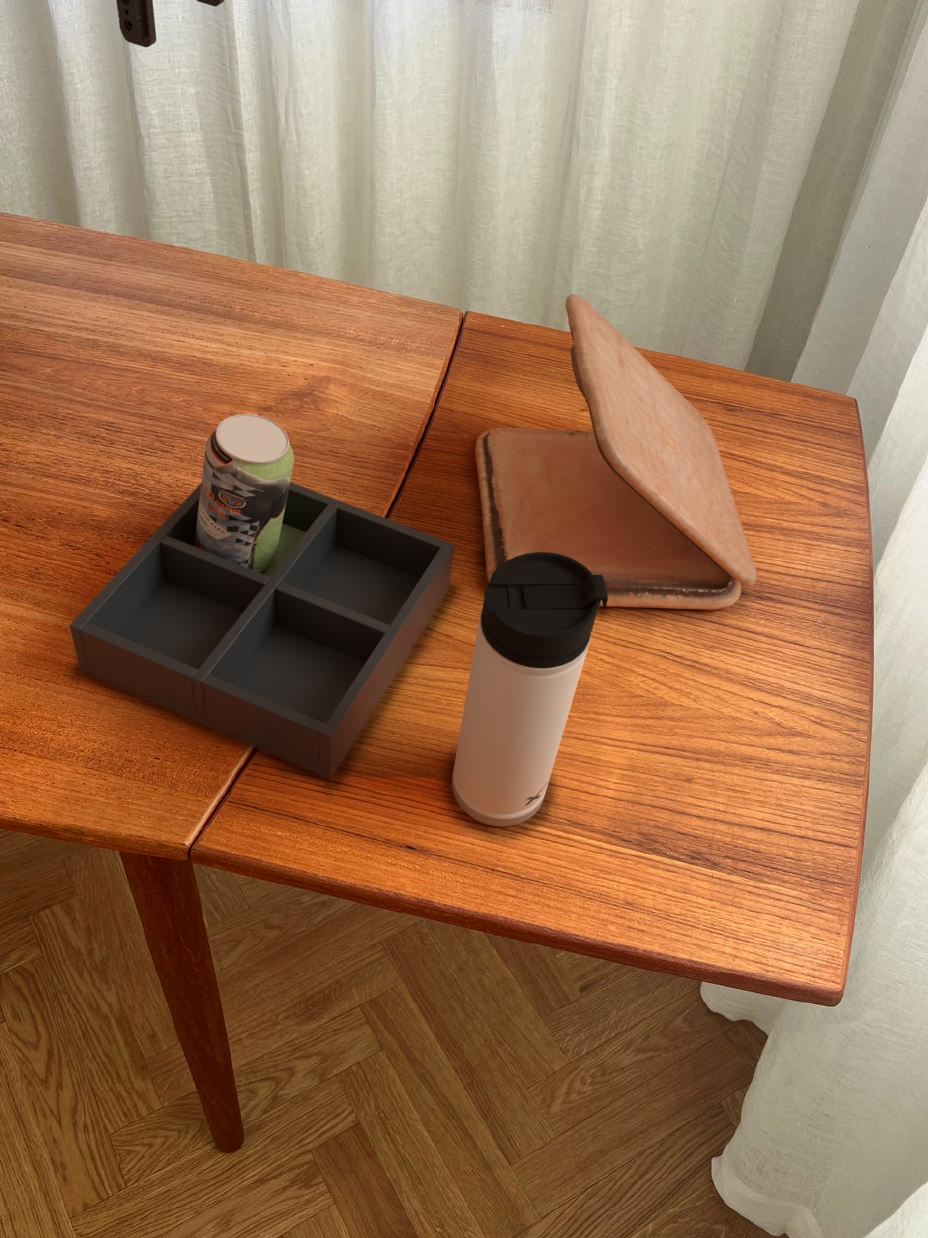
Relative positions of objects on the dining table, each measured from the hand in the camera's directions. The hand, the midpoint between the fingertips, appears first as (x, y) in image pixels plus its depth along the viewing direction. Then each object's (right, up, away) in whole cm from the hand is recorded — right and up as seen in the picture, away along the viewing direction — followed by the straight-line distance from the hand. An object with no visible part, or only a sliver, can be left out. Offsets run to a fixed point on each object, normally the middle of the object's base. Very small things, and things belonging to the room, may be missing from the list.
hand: (175, 21), depth 77 cm
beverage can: (+3, -37, +7) cm, 38 cm away
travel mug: (+22, -53, -3) cm, 57 cm away
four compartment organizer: (+6, -42, +4) cm, 43 cm away
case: (+32, -33, +15) cm, 48 cm away
